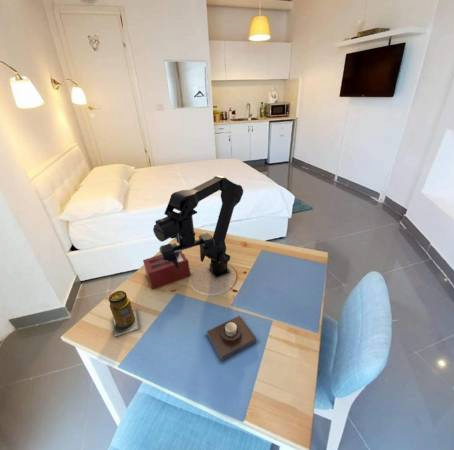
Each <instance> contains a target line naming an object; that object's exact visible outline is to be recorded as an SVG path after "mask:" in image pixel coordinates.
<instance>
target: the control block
mask: <svg viewBox="0 0 454 450" xmlns="http://www.w3.org/2000/svg"><path fill="white" fill-rule="evenodd" d="M230 322H232V323H235V324H236V326H237V333H236V335H234V336H227V335H226V333H225V326H226V324H227V323H230ZM206 334H207V338H208V339H209V342H210V343H211V344H212V347H213V348H214V350H215V353H216V354H217V355H218V357H219V359H220V362H223V361H225V360H228V359H229V358H231V357H233V356H234V355H236V354H238V353H240V352H241V351H243V350H245V349H247V348H249V347H250V346H252V345H254V344H256V343H257V337H256V336H255V334H254V333H253V332H252V330H251V329H250V328H249V326H248V325H247V324H246V322H245V321H244V319H243V318H242V317H241V315H237V316H236V317H234V318H232V319H230V320H228V321H225V322H223V323H221V324H219V325H217V326H215V327H214V328H210V329H209V330H207V331H206Z"/></svg>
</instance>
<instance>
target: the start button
mask: <svg viewBox="0 0 454 450" xmlns="http://www.w3.org/2000/svg"><path fill="white" fill-rule="evenodd" d="M225 333H226V335H227V336H234V335H236V333H237V326H236V324H235V323H232V322H230V323H227V324H226V326H225Z"/></svg>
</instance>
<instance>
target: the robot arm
mask: <svg viewBox="0 0 454 450" xmlns="http://www.w3.org/2000/svg"><path fill="white" fill-rule="evenodd" d="M219 191H220V200H221V206H220V210H219V213H218V216H217V221H216V225H215V228H214V232H213V235H211V234H210V233H208V232H206V233H203V234H199V235H198V239H196V232H195V229H194V228H195V227H194V219H193V218H194V217H193V216H194V215H196V214H198V211H197V210H195V209H196V208H197V207H198V205H199V203H200V202H202V201H203V200H205V199H207V198H208V197H210V196H212V195H213V194H215V193H217V192H219ZM243 195H244V189H243V186H242V185H241V184H237V183H235V182H233V181H231V180H230V179H228V178H227V177H224V176H220V175H215V176H213V177H212V178H211V179H209V180H207V181H205V182H203V183H201V184H199V185H197V186H195V187H193V188H190V189H181V190H178V191H175V192H173V193H172V194H171V195H170V198H169V201H168V203H167V206H166V207H165V211H164V213H163V214H164V215H165V217H163V218H159V219H156V220H155V224H154V225H153V228H152V231H153V234H154V236H155V238H156V239H157V240H158V241H159V242H161V243H162V242H165V241H167V240H169V239H171V240H173V239H175V241H176V244H177V246H174V247H172V246H171V244H172V243H167V244H164V245H161V246H160V247H159V254H160V255H162V258H163V260H165V261H166V260H168V261H172V262H173V263H174V264H175V266H176V267H177V269H178V270H179V265H178V262H177V258H176V256H175V252H179V251H182V252H183V251H185V250H189V249H192V248H193V247H196V246H199V257H200V262H201V263H203V262H204V260H205V258H207V259H209V260H210V263H209V271H210V272H211V274H212V275H214V277H215V278H218V277H221V276H224V275H226V274H229V273H230V269H228V263H229V262H230V260H231V255H230V254H228V253H226V252H227V245H226V241H225V240H226V237H227V234H228V231H229V227H230V223H231V220H232V216H233V213H234V210H235V207H236V206H237V205H238V204H239V203H240V202H241V200H242V197H243ZM174 210H176V211H174ZM177 211H178V212H177Z"/></svg>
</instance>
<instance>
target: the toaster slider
mask: <svg viewBox="0 0 454 450" xmlns="http://www.w3.org/2000/svg"><path fill="white" fill-rule="evenodd" d="M170 244H171V246H172V247H174V246H178V243H177V242H175V243H170ZM178 254H179V252H175V255H178Z"/></svg>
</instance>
